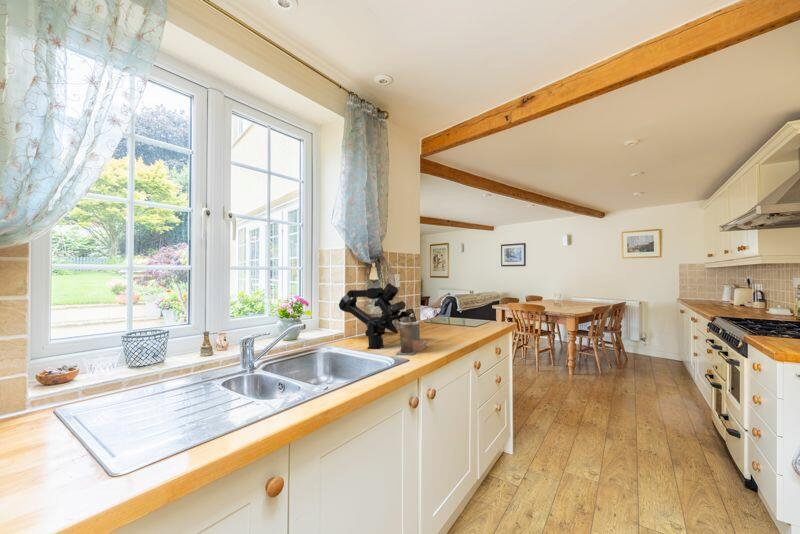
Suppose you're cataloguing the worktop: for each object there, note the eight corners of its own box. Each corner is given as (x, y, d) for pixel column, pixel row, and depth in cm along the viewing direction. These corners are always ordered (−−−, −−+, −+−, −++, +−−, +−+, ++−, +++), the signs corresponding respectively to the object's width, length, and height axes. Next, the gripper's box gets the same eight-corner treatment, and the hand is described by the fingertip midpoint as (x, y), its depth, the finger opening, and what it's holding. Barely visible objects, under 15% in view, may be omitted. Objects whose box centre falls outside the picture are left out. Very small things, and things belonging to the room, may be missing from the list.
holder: (404, 350, 163) (404, 344, 163) (410, 346, 171) (409, 340, 171) (422, 350, 160) (421, 344, 160) (426, 346, 168) (426, 340, 168)
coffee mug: (414, 344, 175) (413, 325, 176) (398, 343, 181) (397, 324, 181) (426, 339, 187) (425, 321, 187) (410, 338, 192) (410, 320, 192)
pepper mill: (398, 351, 157) (396, 317, 158) (406, 349, 161) (405, 316, 162) (406, 353, 153) (405, 318, 154) (415, 351, 157) (414, 317, 158)
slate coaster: (396, 354, 154) (396, 353, 154) (400, 350, 162) (400, 349, 162) (413, 355, 152) (413, 353, 152) (417, 351, 160) (416, 349, 160)
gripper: (380, 297, 155) (399, 323, 148) (407, 294, 169) (425, 318, 162) (369, 313, 160) (387, 339, 153) (396, 309, 174) (413, 332, 167)
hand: (404, 331), depth 158 cm, fingers open, 9 cm apart
